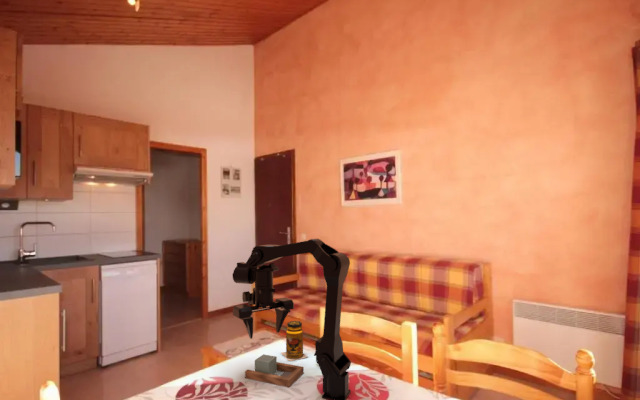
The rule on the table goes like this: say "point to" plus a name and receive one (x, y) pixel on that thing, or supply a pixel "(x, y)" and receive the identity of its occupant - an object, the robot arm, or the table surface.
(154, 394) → the table surface
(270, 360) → the block
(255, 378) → the channel
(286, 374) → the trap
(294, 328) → the condiment
